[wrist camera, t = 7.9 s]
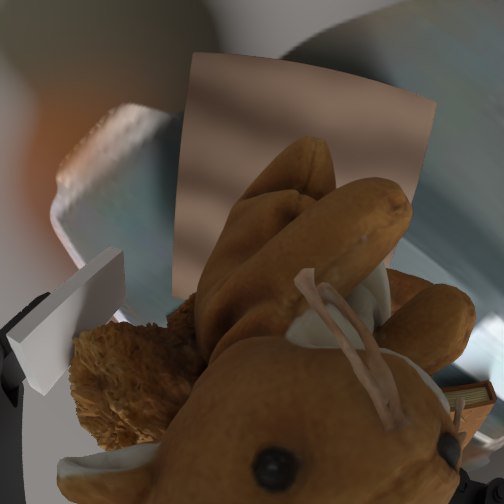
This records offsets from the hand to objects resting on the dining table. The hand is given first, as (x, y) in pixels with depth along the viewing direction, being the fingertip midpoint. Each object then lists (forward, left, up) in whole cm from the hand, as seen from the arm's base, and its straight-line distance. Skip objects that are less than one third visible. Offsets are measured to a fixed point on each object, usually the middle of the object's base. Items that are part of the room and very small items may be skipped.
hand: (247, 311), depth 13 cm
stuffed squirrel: (0, +1, -3) cm, 3 cm away
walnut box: (0, 0, -21) cm, 21 cm away
